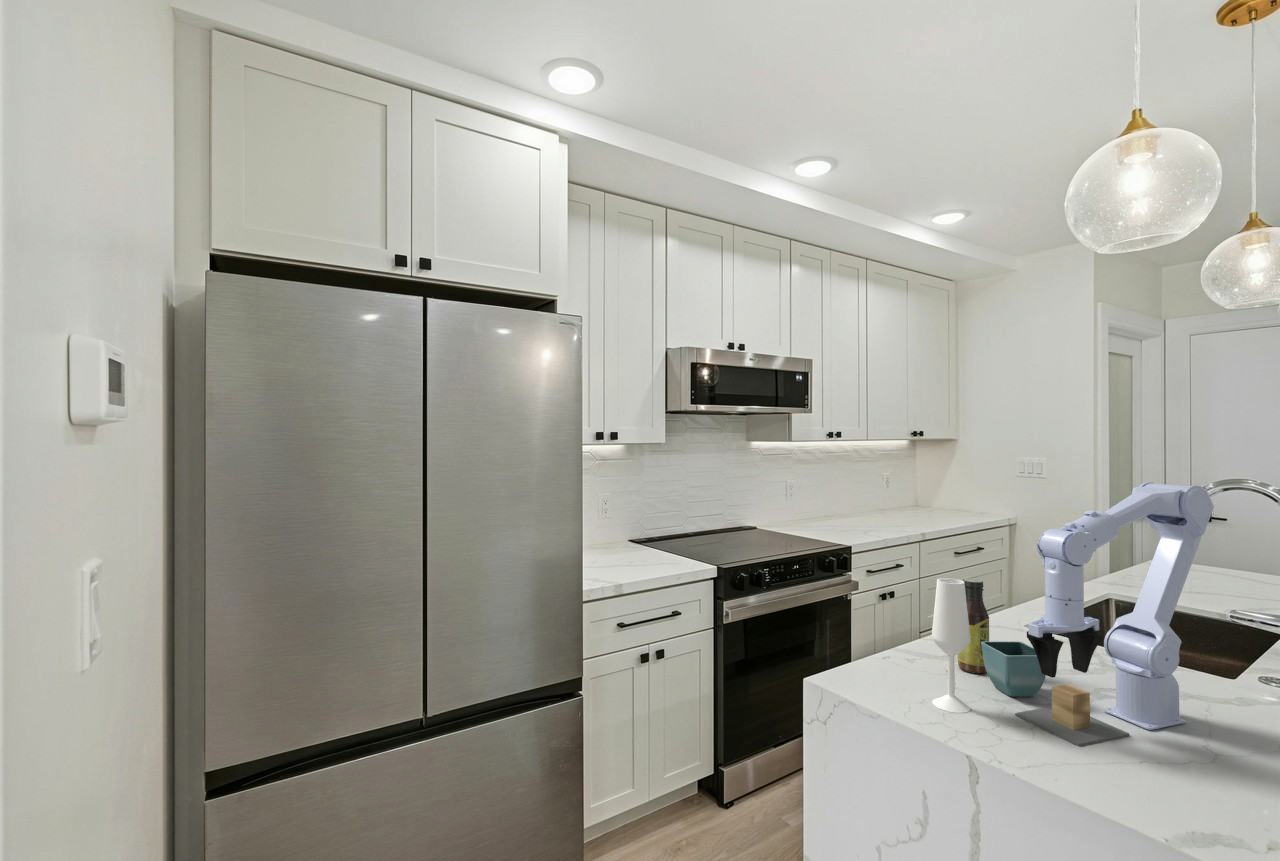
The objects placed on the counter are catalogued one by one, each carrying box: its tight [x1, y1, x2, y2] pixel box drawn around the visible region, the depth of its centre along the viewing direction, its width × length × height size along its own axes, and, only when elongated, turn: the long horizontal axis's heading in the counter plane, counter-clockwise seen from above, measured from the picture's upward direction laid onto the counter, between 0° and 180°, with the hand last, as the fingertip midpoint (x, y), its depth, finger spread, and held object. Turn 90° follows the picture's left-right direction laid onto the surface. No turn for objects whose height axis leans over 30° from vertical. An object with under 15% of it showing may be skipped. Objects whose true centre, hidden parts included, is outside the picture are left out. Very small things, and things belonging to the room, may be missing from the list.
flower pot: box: [981, 640, 1047, 697], centre depth 124 cm, size 9×9×9 cm
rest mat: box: [1014, 706, 1130, 747], centre depth 110 cm, size 12×12×1 cm
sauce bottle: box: [957, 578, 990, 674], centre depth 136 cm, size 7×6×20 cm
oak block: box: [1051, 683, 1091, 730], centre depth 110 cm, size 4×4×6 cm
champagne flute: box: [931, 577, 972, 714], centre depth 118 cm, size 7×7×24 cm
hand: (1064, 673), depth 109 cm, fingers open, 7 cm apart
